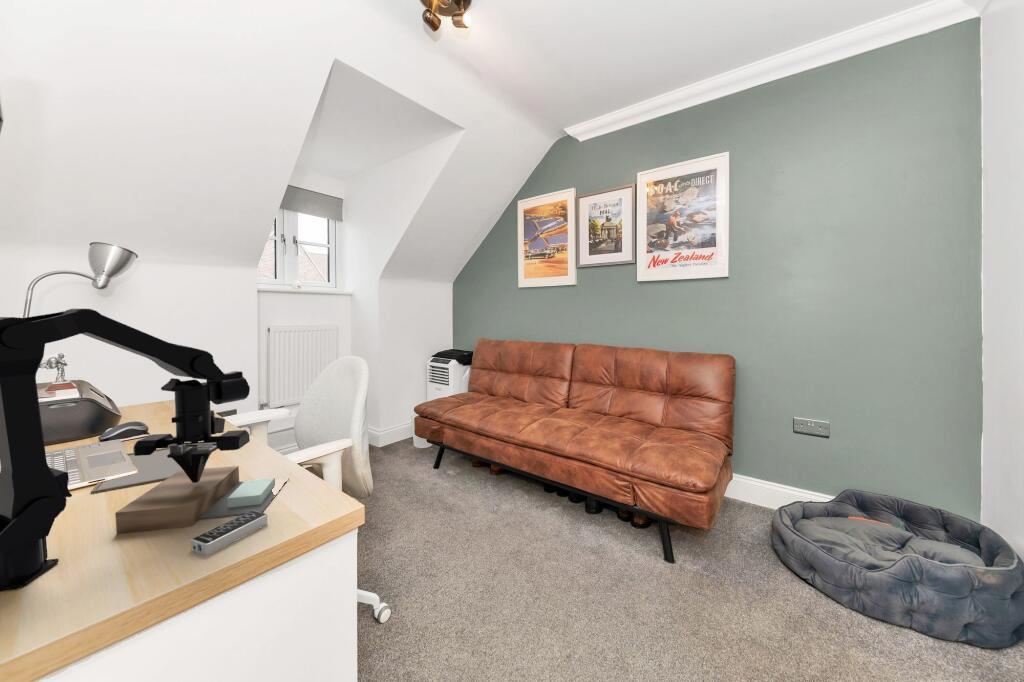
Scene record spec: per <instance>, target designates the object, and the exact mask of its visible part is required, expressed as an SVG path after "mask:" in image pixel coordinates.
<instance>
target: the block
mask: <svg viewBox="0 0 1024 682" xmlns="http://www.w3.org/2000/svg"><path fill="white" fill-rule="evenodd" d="M275 479H276V478H275V477H268V478H267V477H266V478H258V479H256V478H255V479H245V480H244V482H243V481H242V482H243V483H242V484H241V485H240V486H239V487H238V488H237V489H236V490H235V491H234V492H233V493H232V494H231V495H230V496H229V497H228V508H229V507H238V506H248V505H258V504H261V503H262V502H263V501H264V499H265V498H266V497H267V496H268V494H269V493H270V492H271V490H272V489H273V488H274V486H275Z"/></svg>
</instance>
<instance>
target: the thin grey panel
mask: <svg viewBox="0 0 1024 682" xmlns="http://www.w3.org/2000/svg"><path fill="white" fill-rule="evenodd" d="M126 454H127V455H128V456H129V457H130V459H131V461H132V464H133V465H134V466H135V467H136V468H137V469H138V473H136V474H133V475H130V476H124V477H121V478H117V479H114V480H109V481H106V482H103V483H101V482H100V483H98V482H97V483H96V484H95V486H93V489H91V491H90V495H93V494H99V493H104V492H108V491H114V490H120V489H124V488H125V489H126V488H131V487H135V486H142V485H147V484H152V483H158V482H159V483H160V482H163V481H164V480H166V479H168V478H169V477H171V476H172V475H174V474H175V473H177V472H178V471H180V470H183V469H182V468H181V467H180V466H179V465H178V464H177V463H176V462H175V461H174V460H173V458H168V457H167V455H168V454H170V451H169V448H158V449H156V451H155V452H154V453H153V454H151V455H141V456H134V453H133V452H131V453H130V452H129V453H126ZM92 493H93V494H92Z"/></svg>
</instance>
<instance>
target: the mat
mask: <svg viewBox="0 0 1024 682" xmlns="http://www.w3.org/2000/svg"><path fill="white" fill-rule="evenodd" d="M244 481H245V480H244ZM244 481H239V482H238V483H237V484H235V485H234V486H233V487H232V488H231V489H230V490H229V491H228V492H227V493H226V494H225V495H224V496H223V497H221V498H220V499H219V500H218V501H217V502H216V503H215V504H214V505H213V506H212V507H211V508H210V509H209V510H207V511H206V512H205V513H204V514H203V515H202V516H201V517H200V519H199V520H205V519H214V518H215V519H216V518H225V517H236V516H237V517H238V516H241V515H243V514H245V513H247V512H250V511H257V512H261V513H262V512H263V513H264V511H265V510H266V509H267V508H268V506H269V505H270V504H269V503H270V502H272V501H273V500H274V499H275V497H276V496H275V495H274V494H273V492H272V490H271V492H270V493H269V494H268V496H267V497H266V498H265V499H264V501H263V502H262V503H261V504H258V505H248V506H238V507H229V508H228V497H229V496H230V495H231V494H232V493H233V492H234V491H235V490H236V489H237V488H238V487H239V486H240V485H241V484H242V483H243V482H244ZM274 496H275V497H274ZM273 498H274V499H273ZM272 499H273V500H272ZM271 500H272V501H271ZM266 507H267V508H266Z"/></svg>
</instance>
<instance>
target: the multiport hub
mask: <svg viewBox="0 0 1024 682" xmlns="http://www.w3.org/2000/svg"><path fill="white" fill-rule="evenodd" d="M266 524H267V525H268V514H267V513H264V512H263V513H261V512H257V511H250V512H247V513H245V514H243V515H238V516H237V517H235V518H233V519H230V520H228V521H226V522H223V523H222V524H220V525H217V526H216V527H213V528H212V529H211V528H210V529H209V530H208V531H205V532H203V533H200V534H199V535H196V536H195V537H192V538H191V539H190V547H191V548H190V549H191V552H194V553H197V554H199V555H203V556H205V555H207V556H209V555H210V556H211V555H212V554H214V553H216V552H217V550H218V551H220V550H221V548H222V549H223V548H225V547H227V546H229V545H231V544H232V542H233V543H235V542H236V541H235V540H237V539H239V538H241V537H242V538H244V537H246V536H248V535H250V534H251V532H252V533H254V532H255V531H254V530H256V529H258V528H260V527H261V528H263V527H265V526H267V525H266ZM264 525H265V526H264ZM262 526H263V527H262ZM261 528H260V529H261ZM258 530H259V529H258ZM253 531H254V532H253ZM256 531H257V530H256ZM249 533H250V534H249ZM247 534H248V535H247ZM245 535H246V536H245ZM243 536H244V537H243ZM242 538H241V539H242ZM239 540H240V539H239ZM234 541H235V542H234ZM237 541H238V540H237ZM230 543H231V544H230ZM228 544H229V545H228ZM226 545H227V546H226ZM219 549H220V550H219ZM213 552H214V553H213Z"/></svg>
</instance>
